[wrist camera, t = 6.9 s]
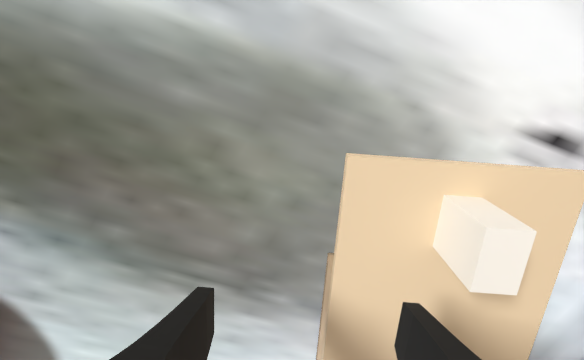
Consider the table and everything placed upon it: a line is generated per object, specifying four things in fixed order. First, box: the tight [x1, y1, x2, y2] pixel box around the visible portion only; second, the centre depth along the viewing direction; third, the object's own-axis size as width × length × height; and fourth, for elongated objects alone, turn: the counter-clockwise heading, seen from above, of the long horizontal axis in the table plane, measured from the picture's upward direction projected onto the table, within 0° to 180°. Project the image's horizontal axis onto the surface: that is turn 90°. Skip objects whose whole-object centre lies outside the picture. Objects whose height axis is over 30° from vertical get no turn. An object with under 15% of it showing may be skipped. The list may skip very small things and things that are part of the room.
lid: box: [322, 153, 584, 360], centre depth 17 cm, size 14×12×5 cm
